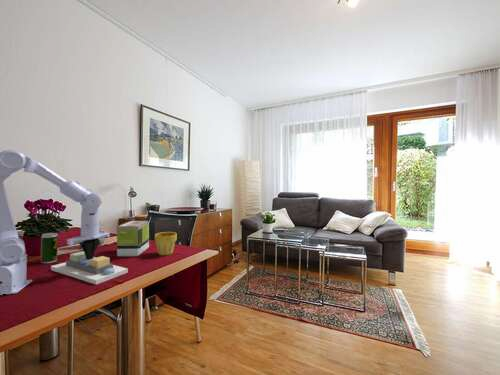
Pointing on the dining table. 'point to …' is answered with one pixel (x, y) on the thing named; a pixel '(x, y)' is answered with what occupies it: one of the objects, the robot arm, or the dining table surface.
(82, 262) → the blue button
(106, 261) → the ochre button
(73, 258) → the sage button
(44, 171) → the robot arm
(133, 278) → the dining table surface
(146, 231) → the tea box
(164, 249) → the plant pot
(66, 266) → the white rectangular tray
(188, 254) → the dining table surface
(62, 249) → the dining table surface
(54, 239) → the beer can
